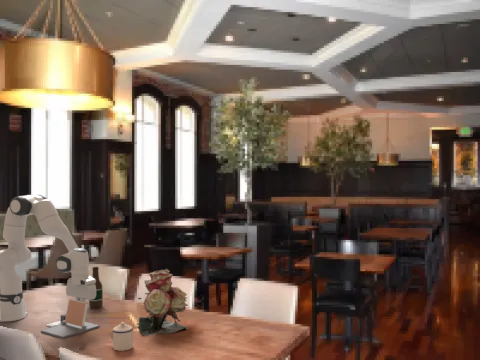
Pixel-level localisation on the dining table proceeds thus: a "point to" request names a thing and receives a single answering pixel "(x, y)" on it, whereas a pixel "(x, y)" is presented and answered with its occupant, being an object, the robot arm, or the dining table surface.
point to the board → (69, 329)
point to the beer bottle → (97, 290)
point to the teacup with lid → (122, 337)
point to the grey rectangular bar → (57, 322)
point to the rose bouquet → (161, 304)
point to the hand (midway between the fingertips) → (81, 305)
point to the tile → (76, 312)
